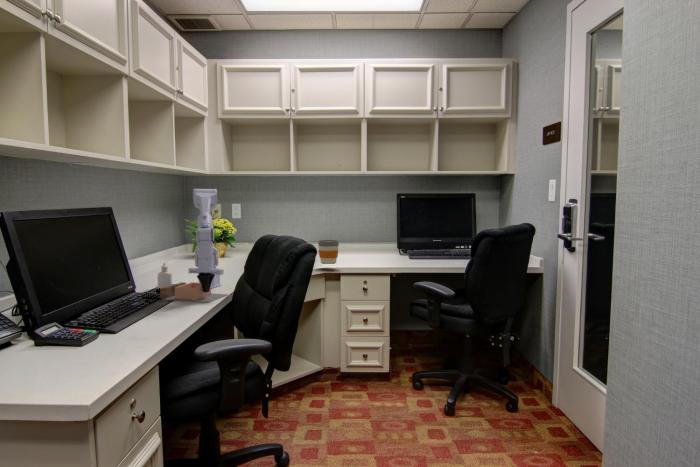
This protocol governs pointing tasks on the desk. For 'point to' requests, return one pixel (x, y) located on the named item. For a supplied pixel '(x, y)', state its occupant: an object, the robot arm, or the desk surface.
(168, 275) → the eye dropper bottle
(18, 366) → the desk surface
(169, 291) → the end wall
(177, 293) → the socket block
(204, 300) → the mat
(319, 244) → the reusable coffee cup
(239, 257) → the desk surface
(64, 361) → the desk surface
